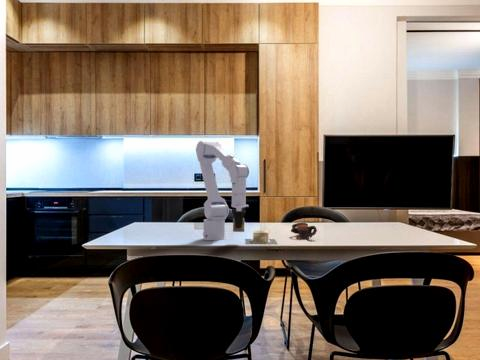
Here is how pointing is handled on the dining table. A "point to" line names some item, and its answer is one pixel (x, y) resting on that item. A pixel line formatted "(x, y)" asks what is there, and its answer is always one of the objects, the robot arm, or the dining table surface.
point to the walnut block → (238, 228)
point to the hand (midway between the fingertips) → (238, 227)
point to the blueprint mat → (250, 241)
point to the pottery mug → (303, 230)
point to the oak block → (260, 236)
